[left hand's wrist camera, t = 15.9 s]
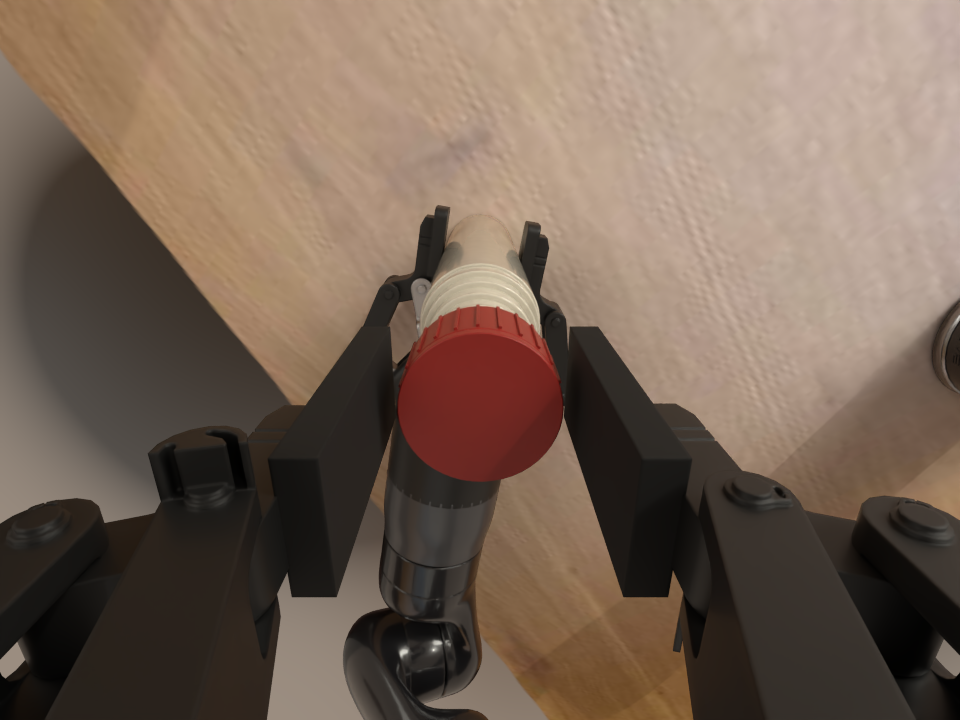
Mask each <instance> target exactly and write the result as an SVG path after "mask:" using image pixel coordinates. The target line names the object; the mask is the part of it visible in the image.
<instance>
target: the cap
mask: <svg viewBox="0 0 960 720" xmlns="http://www.w3.org/2000/svg"><path fill="white" fill-rule="evenodd" d="M560 383H561V379H560V377H559V374H558V371H557V369H556V366H555V363H554V360H553V358H552V355H550V352H549V349H548V347H547V344H546V341H545V339H544V338H543V339H542V338H541V337H540V336H539V334H538V333H537V331H536V330H535V328H534V325H533V324H531V325H530V324H528V323H527V322H526V321H525V320H524V319H522V318H520V317H519V316H518V314H517V313H515V314H513V313H511V312H509V311H506V310H503V309H500V307H499V306H496V308H495V307H489V306H480V304H477V305H476V306H473V307H466V308H461V309H460V307H458V308H457V309H456V310H455V311H452V312H449V313H448V314H446V315H444V316H442V315H440V316H439V317H438V319H437V320H436V321H435V322H433V323H432V324H431V325H430V326H429V327H428V328H427V327H425V328H424V330H423V333H422V335H421V336H420V338H419V339H418V341H417V342H414V344H413V346H412V349H411V352H410V355H409V357H408V360H407V363H406V366H405V369H404V372H403V374H402V377H401V380H400V383H399V386H398V387H399V388H400V390H399V393H398V401H397V414H398V420H399V424H400V427H401V430H402V433H403V435H404V437H405V439H406V441H407V443H408V444H409V446H410V447H411V449H412V450H413V451H414V452H415V453H416V455H417V456H418V457H419V458H420V459H421V460H423V461H424V462H425V463H426V464H427V465H429V466H430V467H432V468H433V469H435V470H437V471H439V472H441V473H442V474H445V475H447V476H450V477H453V478H457V479H461V480H466V481H476V482H485V481H495V480H500V479H504V478H507V477H511V476H513V475H516V474H518V473H520V472H522V471H524V470H526V469H527V468H529V467H531V466H532V465H533V464H535V463H536V462H537V461H538V460H539V459H540V458H541V457H542V456H543V455H544V454H545V453H546V452H547V451H548V450H549V448H550V447H551V446H552V444H553V442H554V440H555V439H556V437H557V435H558V432H559V430H560V427H561V423H562V419H563V410H564V407H563V395H562V390H561V387H560Z"/></svg>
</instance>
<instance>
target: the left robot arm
mask: <svg viewBox="0 0 960 720" xmlns="http://www.w3.org/2000/svg"><path fill="white" fill-rule="evenodd" d="M395 418H396V408H395V393H394V378H393V363H392V348H391V334H390V327H361V329H360V330H359V332H358V333H357V334H356V336H355V337H354V339H353V340H352V341H351V343H350V344H349V346H348V347H347V348H346V350H345V351H344V353H343V354H342V355H341V357H340V358H339V360H338V361H337V362H336V364H335V365H334V367H333V368H332V369H331V371H330V372H329V373H328V375H327V376H326V378H325V379H324V380H323V382H322V383H321V385H320V386H319V387H318V389H317V390H316V392H315V393H314V394H313V396H312V397H311V399H310V400H309V401H308V403H307V404H306V405H285V406H283V407H281V408H279V409H278V410H276V411H274V412H273V413H271V414H269V415H267V416H266V417H265V418H264V419H263V420H262V422H261V423H260V424H259V425H258V426H257V428H256V429H255V432H252V434H251V435H250V436H249V437H248V438H247V434H246V433H244V432H243V431H242V430H240V429H239V428H234V427H229V426H208V427H203V428H197V429H192V430H189V431H186V432H183V433H180V434H177V435H174V436H172V437H170V438H168V439H166V440H164V441H162V442H161V443H159V444H157V445H156V446H155V447H154V448H153V449H152V450H151V451H150V452H149V453H148V456H149V460H150V463H151V467H152V471H153V474H154V478H155V481H156V485H157V489H158V492H159V496H160V500H161V503H160V505H159V506H158V508H157V510H156V512H155V513H153V514H149V515H144V516H139V517H134V518H129V519H124V520H118V521H113V522H108V523H104V520H103V517H102V514H101V511H100V508H99V506H98V505H97V504H95V503H94V502H93V501H91V500H86V499H78V498H74V499H65V500H55V501H50V502H47V503H46V504H44V503H42V504H39V505H35V506H33V507H31V508H29V509H28V510H26V511H23V512H21V513H19V514H16V515H14V516H12V517H10V518H9V519H7V520H5V521H4V522H2V523H1V524H0V659H1V658H2V657H3V656H4V655H5V654H6V653H7V652H8V651H9V650H10V649H11V648H12V647H13V646H14V644H15V643H16V642H18V644H19V647H20V649H21V651H22V653H23V655H24V658H25V661H24V662H23V663H22V664H21V665H20V666H19V668H18V669H17V670H16V671H14V672H13V673H12V674H11V675H9V676H8V677H7V678H6V679H5V678H4V677H3V676H2V675H1V673H0V720H267V714H268V707H269V699H270V692H271V685H272V677H273V670H274V662H275V655H276V647H277V640H278V633H279V625H280V618H281V616H280V608H279V602H278V597H277V593H278V591H279V589H280V587H281V584H282V582H283V580H284V578H285V576H286V574H287V572H288V578H289V583H290V589H291V595H292V597H337V594H338V591H339V588H340V585H341V582H342V579H343V576H344V573H345V570H346V567H347V564H348V561H349V558H350V555H351V552H352V549H353V546H354V543H355V540H356V537H357V534H358V531H359V527H360V524H361V521H362V518H363V515H364V512H365V509H366V506H367V503H368V500H369V497H370V494H371V491H372V488H373V485H374V482H375V479H376V476H377V473H378V470H379V467H380V464H381V461H382V458H383V455H384V452H385V449H386V446H387V443H388V440H389V437H390V433H391V430H392V427H393V424H394V421H395ZM564 418H565V421H566V424H567V427H568V430H569V434H570V437H571V440H572V443H573V446H574V449H575V452H576V455H577V458H578V461H579V464H580V467H581V470H582V473H583V476H584V479H585V482H586V485H587V488H588V491H589V494H590V497H591V500H592V503H593V506H594V509H595V512H596V515H597V518H598V521H599V525H600V528H601V531H602V534H603V537H604V540H605V543H606V546H607V549H608V552H609V555H610V558H611V561H612V564H613V567H614V570H615V573H616V576H617V579H618V582H619V585H620V588H621V591H622V594H623V597H668V595H669V589H670V584H671V578H672V572H673V571H674V573H675V575H676V578H677V580H678V582H679V584H680V586H681V588H682V590H683V597H682V602H681V607H680V613H679V618H678V623H677V628H676V634H675V639H674V646H673V651H675V652H680V650H681V645H682V641H683V646H684V654H685V661H686V668H687V676H688V683H689V691H690V698H691V705H692V713H693V720H960V673H959V674H958V675H957V676H954V675H952V674H951V673H950V672H949V671H948V670H947V669H945V668H944V666H943V665H942V664H941V663H940V662H939V661H938V660H937V659H936V655H937V653H938V651H939V649H940V646H941V644H942V642H943V640H944V639H945V640H946V641H947V642H948V643H949V645H950V646H951V647H952V648H953V649H954V650H955V651H956V652H957V653H958V654H959V655H960V520H958V519H956V518H955V517H953V516H952V515H950V514H948V513H946V512H944V511H941V510H939V509H937V508H934V507H933V506H931V505H930V504H927V503H924V502H921V501H918V500H917V501H915V500H914V499H909V498H903V497H902V498H900V497H891V496H879V497H872V498H869V499H868V500H866V501H865V502H864V503H862V505H861V508H860V511H859V514H858V517H857V520H856V521H854V520H849V519H844V518H839V517H833V516H828V515H823V514H818V513H813V512H809V511H805V510H804V509H803V507H802V505H801V504H800V502H799V500H798V499H797V498H796V497H795V496H794V494H793V493H792V492H791V491H790V490H788V489H787V488H785V487H784V486H782V485H781V484H779V483H778V482H776V481H774V480H771V479H769V478H766V477H764V476H762V475H759V474H755V473H750V472H746V471H742V470H741V469H740V468H739V467H738V465H737V464H736V463H735V462H734V461H733V460H732V458H731V457H730V456H729V455H728V454H727V452H726V451H725V450H724V449H723V448H722V447H721V445H720V444H719V443H718V442H717V441H715V440H714V437H713V436H712V435H711V434H710V432H709V431H708V430H705V427H704V425H703V424H702V423H701V422H700V421H699V419H698V418H697V417H696V416H695V415H694V414H692V413H691V412H689V411H687V410H686V409H684V408H682V407H680V406H679V405H677V404H653V403H652V401H651V400H650V399H649V397H648V396H647V394H646V393H645V392H644V390H643V389H642V387H641V386H640V385H639V383H638V382H637V380H636V379H635V378H634V376H633V375H632V373H631V372H630V371H629V369H628V368H627V367H626V365H625V364H624V362H623V361H622V360H621V358H620V357H619V355H618V354H617V353H616V351H615V350H614V348H613V347H612V346H611V344H610V343H609V341H608V340H607V339H606V337H605V336H604V334H603V333H602V332H601V330H600V329H599V327H570V333H569V348H568V363H567V378H566V393H565V408H564Z"/></svg>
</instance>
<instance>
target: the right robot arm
mask: <svg viewBox="0 0 960 720" xmlns="http://www.w3.org/2000/svg"><path fill="white" fill-rule="evenodd" d="M449 214H450V207H446V206H440V205H438V206H437V207H436V209H435V215H427V216H426V217H425V218H424V220H423V222H422V224H421V226H420V234H419V242H418V250H417V258H416V266H415V271H414V272H413V273H411V274H408V275H403V276H398V275H392V276H390V277H388V278H387V280H386V281H385V283H384V284H383V285H382V286H381V287H380V289H379V290H378V293H377V295H376V298H375V300H374V302H373V305H372V307H371V309H370V312H369V314H368V316H367V319H366V321H365V323H364V326H363V327H388V326H389V323H390V321H391V319H392V317H393V314H394V312H395V310H396V308H397V305H398V303H399V302H403V301H408V300H413V303H414V308H415V314H416V321H417V322H416V325H417V332H418V338H420V336H421V333H420V316H421V309H422V305H423V302H424V299H425V297H426V294H427V292H428V290H429V287H430V285H431V282H432V280H433V277H434V275H435V272H436V270H437V267H438V265H439V262H440V260H441V257H442V255H443V252H444V249H445V242H446V235H447V228H448V221H449ZM540 231H541V225H540V224H539V223H535V222H530V221H526V222H525V226H524V231H523V236H522V241H521V246H520V251H519V256H518V257H519V259H520V262H521V264H522V267H523V269H524V272H525V274H526V277H527V279H528V281H529V284H530V286H531V289H532V291H533V294H534V296H535V299H536V301H537V304H538V308H539V313H540V324H541V327H542V339H543V338H544V339H545V341H546V344H547V347H548V349H549V352H550V355H552V358H553V360H554V363H555V366H556V369H557V371H558V374H559V377H560V379H561V383H560V387H561V390H562V395H563V406H565V393H566V378H567V363H568V343H567V327H566V319H565V316H564V315H563V313H562V311H561V309H560V307H559V306H558V304H557V303H555V302H551V301H549V300H547V299H545V298H544V297H542V296H541V295H540V288H541V283H542V278H543V274H544V269H545V265H546V260H547V255H548V251H549V245H548V239H547V237H546V236H545V235H542V234H540ZM410 352H411V351H410ZM410 352H409V353H408V354H407V355H406V356H405V357H404V358H403V359H402V360H401V361H400V362H399V363H398V364H396V363H395V362H394V361H393V360H392V363H393V378H394V393H395V408H396V418H395V421H394V424H393V430H392V438H391V446H390V455H389V463H388V470H387V480H386V488H385V498H384V515H385V529H384V537H383V545H382V553H381V559H380V568H379V588H380V592H381V595H382V597H383V599H384V601H385V603H386V604H387V606H388V607H389V608H385V609H380V610H376V611H372V612H370V613H367V614H365V615H363V616H361V617H360V618H359V619H358V620H357V621H356V622H355V623H354V625H353V626H352V628H351V630H350V631H349V633H348V636H347V639H346V641H345V646H344V652H343V667H344V674H345V678H346V682H347V685H348V688H349V691H350V693H351V696H352V698H353V700H354V702H355V704H356V706H357V708H358V710H359V712H360V714H361V715H362V717H363V719H364V720H488V719H487V718H486V717H485V716H484V715H483V714H482V713H480V712H478V711H474V710H469V709H437V708H432V707H428V706H426V705H424V703H427V702H430V701H433V700H437V699H439V698H443V697H446V696H449V695H453V694H455V693H458V692H459V691H461V690H463V689H464V688H466V687H467V686H468V685H469V684H470V683H471V681H472V680H473V679H474V677H475V676H476V674H477V672H478V670H479V668H480V665H481V660H482V647H481V638H480V632H479V627H478V620H477V610H476V592H475V580H476V575H477V570H478V565H479V560H480V556H481V551H482V546H483V543H484V539H485V536H486V533H487V531H488V528H489V526H490V523H491V521H492V517H493V513H494V509H495V504H496V500H497V495H498V491H499V486H500V481H501V479H500V480H495V481H485V482H476V481H466V480H461V479H457V478H453V477H450V476H447V475H445V474H442V473H441V472H439V471H437V470H435V469H433V468H432V467H430V466H429V465H427V464H426V463H425V462H424V461H423V460H421V459H420V458H419V457H418V456H417V455H416V453H415V452H414V451H413V450H412V449H411V447H410V446H409V444H408V443H407V441H406V439H405V437H404V435H403V433H402V430H401V427H400V424H399V420H398V414H397V401H398V393H399V390H400V388H399V387H398V386H399V383H400V380H401V377H402V374H403V372H404V369H405V366H406V363H407V360H408V357H409V355H410ZM932 358H933V366H934V369H935V372H936V374H937V376H938V378H939V379H940V381H941V382H942V383H943V384H944V385H945V386H946V387H948V388H949V389H951V390H953V391H955V392H957V393H959V394H960V302H959V303H958V304H957V305H956V306H955V307H954V308H953V309H952V311H951V312H950V313H949V314H948V316H947V317H946V319H945V320H944V322H943V323H942V325H941V327H940V329H939V331H938V333H937V336H936V338H935V342H934V346H933V355H932Z"/></svg>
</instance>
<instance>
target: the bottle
mask: <svg viewBox="0 0 960 720" xmlns="http://www.w3.org/2000/svg"><path fill="white" fill-rule="evenodd" d="M477 304H480V306H489V307H495V308H496V306H499V307H500V309H503V310H506V311H509V312H511V313H513V314H515V313H517V314H518V316H519V317H520V318H522V319H524V320H525V321H526V322H527V323H528V324H530V325H531V324H533V325H534V328H535V330H536V331H537V333H538V334H539V336H540V313H539V308H538V304H537V301H536V299H535V296H534V294H533V291H532V289H531V286H530V284H529V281H528V279H527V277H526V274H525V272H524V269H523V267H522V264H521V262H520V259H519V257H518V254H517V252H516V250H515V247H514V245H513V242H512V240H511V237H510V235H509V233H508V231H507V229H506V228H505V226H504V225H503V224H502V223H501V222H500V221H498V220H497V219H495V218H493V217H490V216H487V215H473V216H470V217H467V218H465V219H463V220H462V221H460V222H459V223H458V224H457V225H456V226H455V228H454V229H453V231H452V233H451V235H450V237H449V240H448V242H447V245H446V247H445V250H444V252H443V255H442V257H441V260H440V262H439V265H438V267H437V270H436V272H435V275H434V277H433V280H432V282H431V285H430V287H429V290H428V292H427V294H426V297H425V299H424V302H423V305H422V309H421V316H420V333H421V335H422V333H423V330H424V328H425V327H427V328H428V327H429V326H430V325H431V324H432V323H433V322H435V321H436V320H437V319H438V317H439V316H440V315H442V316H444V315H446V314H448V313H449V312H452V311H455V310H456V309H457V308H458V307H460V309H461V308H466V307H473V306H476V305H477Z"/></svg>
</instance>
